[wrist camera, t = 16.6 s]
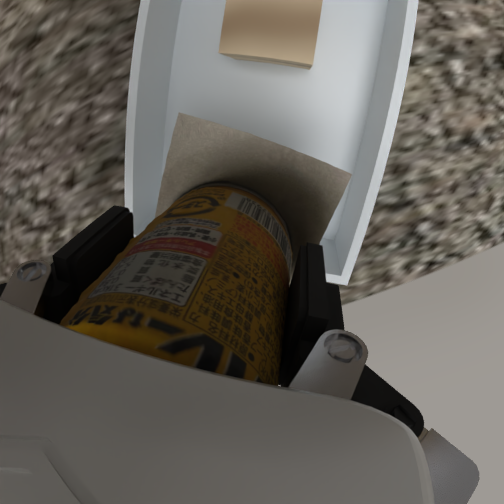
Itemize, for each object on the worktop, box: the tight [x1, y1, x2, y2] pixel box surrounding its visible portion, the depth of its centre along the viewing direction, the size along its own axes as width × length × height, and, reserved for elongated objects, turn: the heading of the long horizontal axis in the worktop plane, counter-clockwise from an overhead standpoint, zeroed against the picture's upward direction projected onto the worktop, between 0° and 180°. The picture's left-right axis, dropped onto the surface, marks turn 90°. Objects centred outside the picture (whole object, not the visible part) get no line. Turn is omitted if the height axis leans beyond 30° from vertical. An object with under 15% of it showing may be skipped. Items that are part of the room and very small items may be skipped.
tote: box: [125, 0, 418, 285], centre depth 18 cm, size 21×15×6 cm
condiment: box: [60, 112, 352, 386], centre depth 9 cm, size 7×8×12 cm
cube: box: [218, 0, 323, 70], centre depth 16 cm, size 5×5×5 cm
